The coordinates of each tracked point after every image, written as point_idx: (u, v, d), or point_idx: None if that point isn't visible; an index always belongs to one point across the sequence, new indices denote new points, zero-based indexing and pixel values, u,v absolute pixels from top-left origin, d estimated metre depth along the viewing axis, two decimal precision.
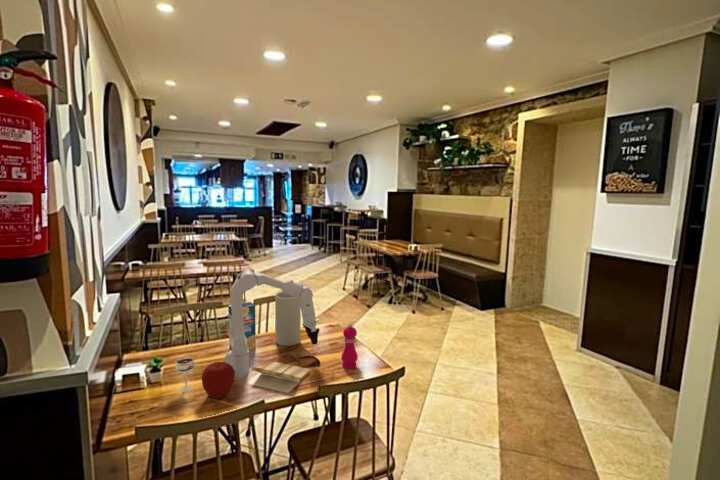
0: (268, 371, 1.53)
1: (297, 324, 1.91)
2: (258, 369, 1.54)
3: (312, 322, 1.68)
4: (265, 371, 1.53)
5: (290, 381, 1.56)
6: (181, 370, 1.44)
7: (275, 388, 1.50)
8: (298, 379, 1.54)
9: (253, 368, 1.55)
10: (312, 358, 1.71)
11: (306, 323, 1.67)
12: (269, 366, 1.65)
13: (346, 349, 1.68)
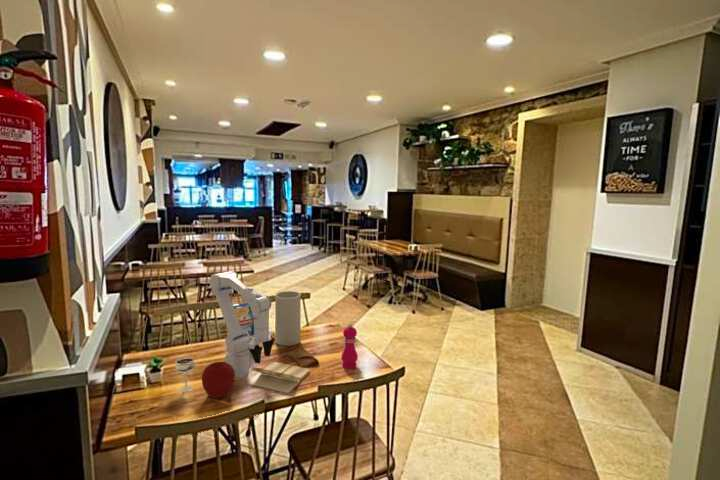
0: (268, 371, 1.53)
1: (297, 324, 1.91)
2: (258, 369, 1.54)
3: (259, 339, 1.49)
4: (265, 371, 1.53)
5: (290, 381, 1.56)
6: (181, 370, 1.44)
7: (275, 388, 1.50)
8: (298, 379, 1.54)
9: (253, 368, 1.55)
10: (311, 358, 1.71)
11: (254, 337, 1.50)
12: (269, 366, 1.65)
13: (346, 349, 1.68)
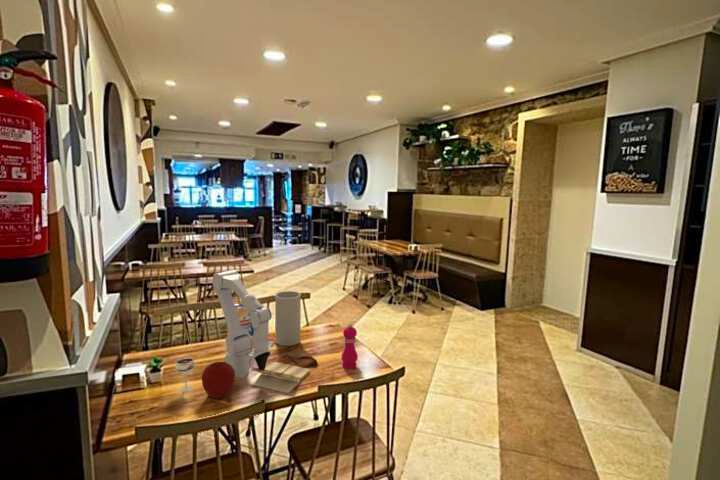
0: (268, 371, 1.53)
1: (297, 324, 1.91)
2: (258, 369, 1.54)
3: (258, 350, 1.50)
4: (265, 371, 1.53)
5: (290, 381, 1.56)
6: (181, 370, 1.44)
7: (275, 388, 1.50)
8: (298, 379, 1.54)
9: (253, 368, 1.55)
10: (309, 359, 1.71)
11: (254, 348, 1.51)
12: (269, 366, 1.65)
13: (346, 349, 1.68)
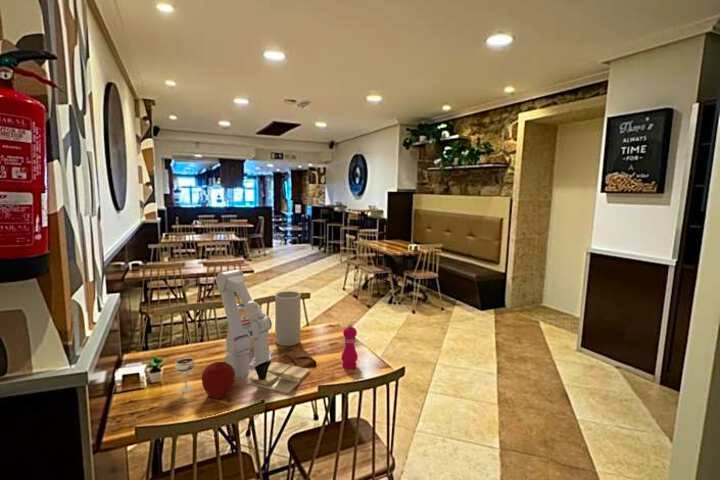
0: (265, 382, 1.51)
1: (297, 324, 1.91)
2: (255, 380, 1.53)
3: (259, 359, 1.50)
4: (263, 382, 1.52)
5: (290, 381, 1.56)
6: (181, 370, 1.44)
7: (275, 388, 1.50)
8: (298, 379, 1.54)
9: (250, 379, 1.54)
10: (308, 359, 1.70)
11: (254, 357, 1.51)
12: (269, 366, 1.65)
13: (346, 349, 1.68)
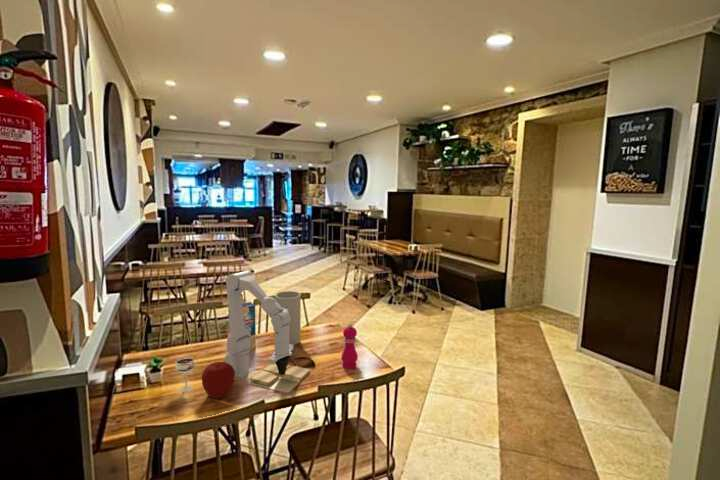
0: (265, 382, 1.51)
1: (297, 324, 1.91)
2: (255, 380, 1.53)
3: (279, 353, 1.46)
4: (263, 382, 1.52)
5: (290, 381, 1.56)
6: (181, 370, 1.44)
7: (275, 388, 1.50)
8: (298, 379, 1.54)
9: (250, 379, 1.54)
10: (307, 359, 1.70)
11: (274, 352, 1.48)
12: (269, 366, 1.65)
13: (346, 349, 1.68)
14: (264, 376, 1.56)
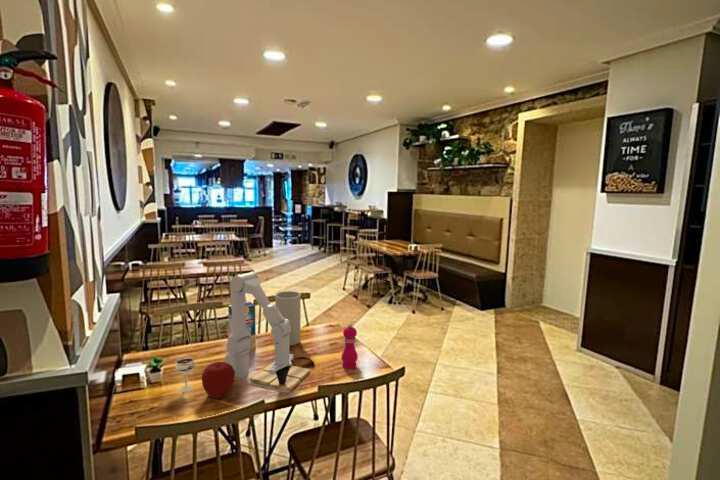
0: (265, 382, 1.51)
1: (297, 324, 1.91)
2: (255, 380, 1.53)
3: (279, 363, 1.47)
4: (263, 382, 1.52)
5: None
6: (181, 370, 1.44)
7: (275, 388, 1.50)
8: (297, 382, 1.54)
9: (250, 379, 1.54)
10: (306, 359, 1.70)
11: (275, 362, 1.48)
12: (269, 366, 1.65)
13: (346, 349, 1.68)
14: (264, 376, 1.56)
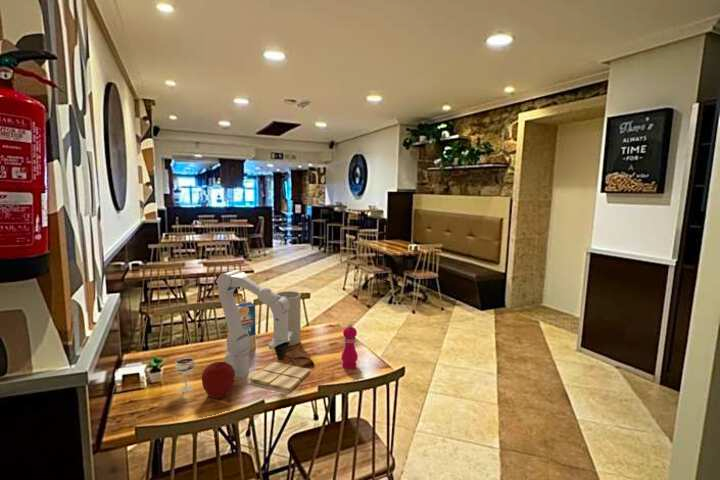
0: (265, 382, 1.51)
1: (297, 324, 1.91)
2: (255, 380, 1.53)
3: (278, 339, 1.51)
4: (263, 382, 1.52)
5: None
6: (181, 370, 1.44)
7: (275, 388, 1.50)
8: (297, 382, 1.54)
9: (250, 379, 1.54)
10: (306, 359, 1.70)
11: (273, 338, 1.52)
12: (269, 366, 1.65)
13: (346, 349, 1.68)
14: (264, 376, 1.56)
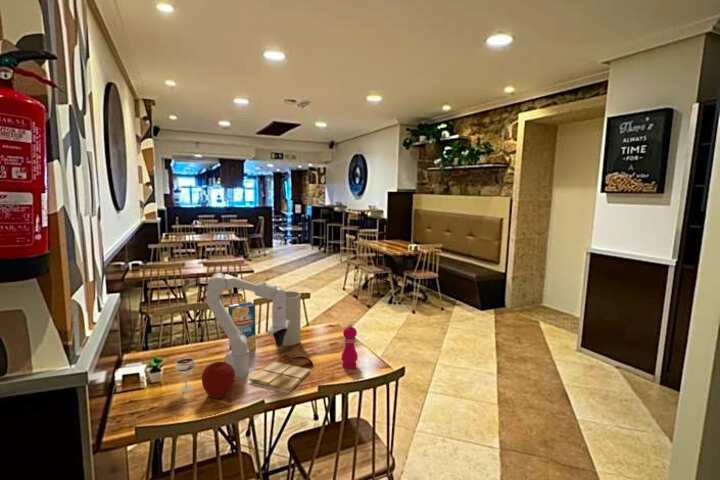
0: (265, 382, 1.51)
1: (297, 324, 1.91)
2: (255, 380, 1.53)
3: (277, 326, 1.62)
4: (263, 382, 1.52)
5: None
6: (181, 370, 1.44)
7: (275, 388, 1.50)
8: (297, 382, 1.54)
9: (250, 379, 1.54)
10: (305, 359, 1.70)
11: (272, 325, 1.64)
12: (269, 366, 1.65)
13: (346, 349, 1.68)
14: (264, 376, 1.56)
